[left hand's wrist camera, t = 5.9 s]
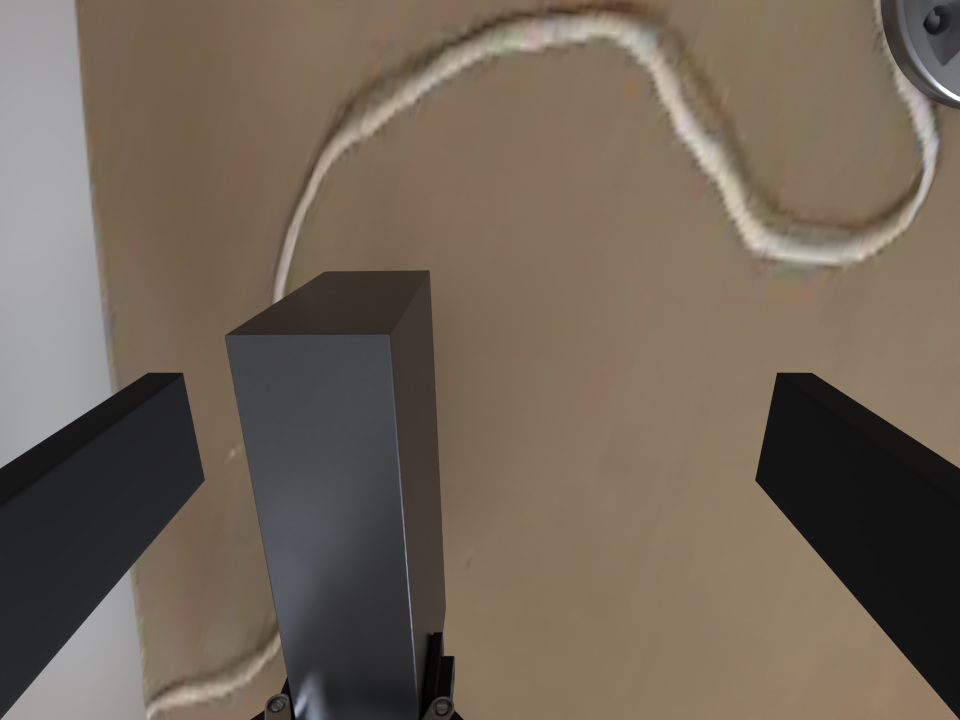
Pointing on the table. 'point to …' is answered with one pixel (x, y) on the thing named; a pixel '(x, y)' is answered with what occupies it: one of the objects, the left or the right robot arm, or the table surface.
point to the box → (347, 486)
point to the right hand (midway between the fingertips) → (379, 651)
